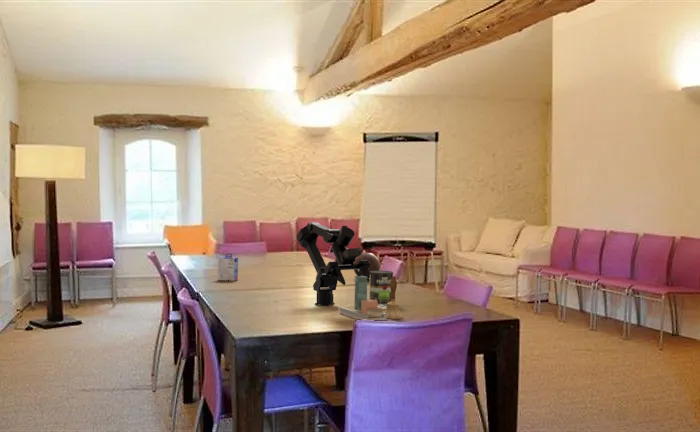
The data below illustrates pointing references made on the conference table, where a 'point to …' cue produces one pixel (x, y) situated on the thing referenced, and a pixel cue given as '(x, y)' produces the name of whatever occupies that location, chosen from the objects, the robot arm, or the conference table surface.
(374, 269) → the wooden sphere
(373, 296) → the coffee can
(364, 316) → the lane board
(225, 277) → the ink cartridge box
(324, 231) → the robot arm
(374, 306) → the cube
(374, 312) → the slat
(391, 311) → the wooden handled brush
